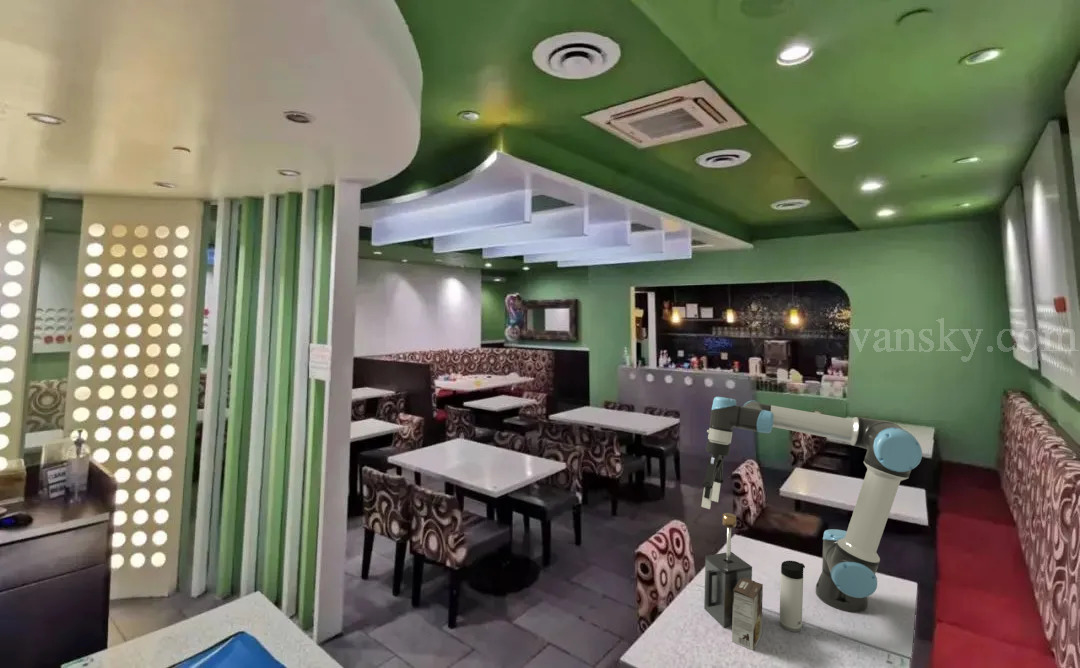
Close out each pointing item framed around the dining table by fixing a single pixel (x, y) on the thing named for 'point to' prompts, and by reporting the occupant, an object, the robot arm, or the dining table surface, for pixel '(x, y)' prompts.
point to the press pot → (723, 585)
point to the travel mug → (791, 595)
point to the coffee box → (747, 613)
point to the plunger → (729, 531)
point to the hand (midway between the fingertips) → (710, 504)
